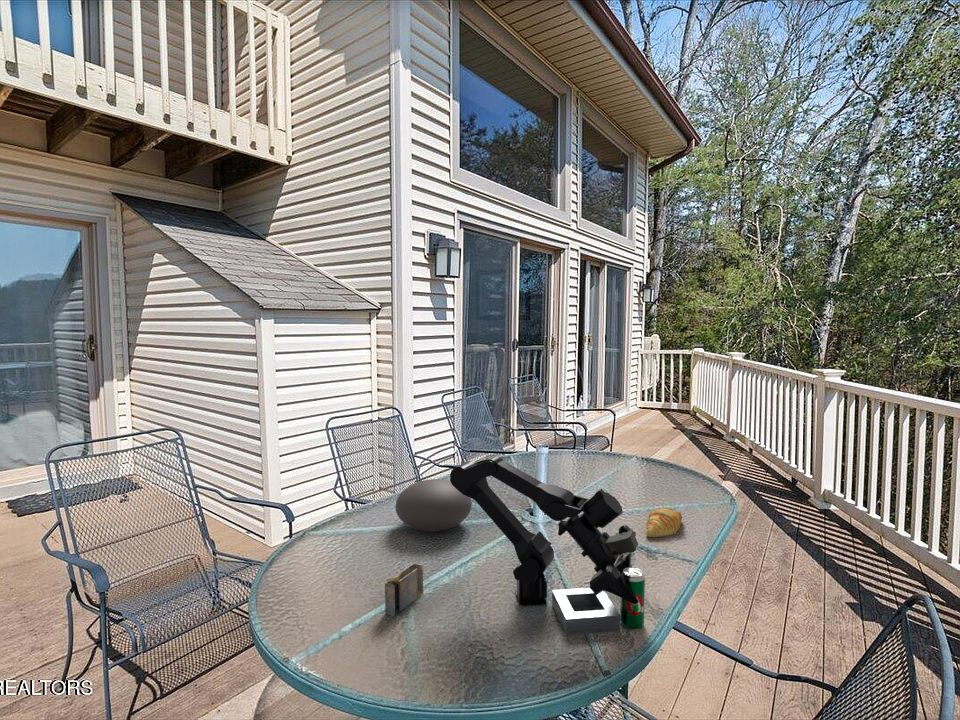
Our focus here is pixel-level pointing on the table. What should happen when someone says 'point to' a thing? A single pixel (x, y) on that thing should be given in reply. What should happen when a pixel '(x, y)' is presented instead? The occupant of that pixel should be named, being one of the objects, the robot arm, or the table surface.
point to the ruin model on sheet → (403, 588)
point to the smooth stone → (432, 505)
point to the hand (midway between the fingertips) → (639, 596)
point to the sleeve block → (585, 621)
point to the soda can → (628, 611)
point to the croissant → (663, 522)
